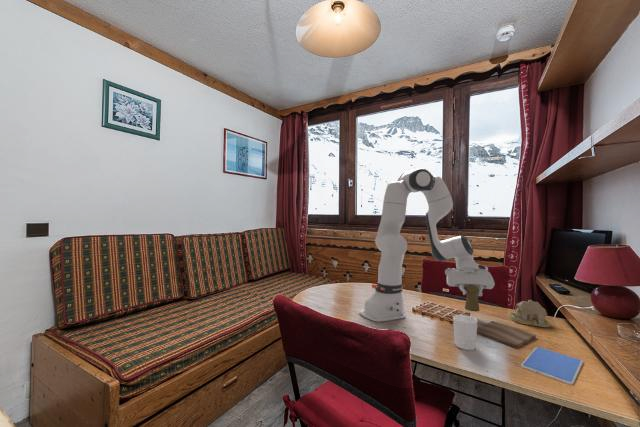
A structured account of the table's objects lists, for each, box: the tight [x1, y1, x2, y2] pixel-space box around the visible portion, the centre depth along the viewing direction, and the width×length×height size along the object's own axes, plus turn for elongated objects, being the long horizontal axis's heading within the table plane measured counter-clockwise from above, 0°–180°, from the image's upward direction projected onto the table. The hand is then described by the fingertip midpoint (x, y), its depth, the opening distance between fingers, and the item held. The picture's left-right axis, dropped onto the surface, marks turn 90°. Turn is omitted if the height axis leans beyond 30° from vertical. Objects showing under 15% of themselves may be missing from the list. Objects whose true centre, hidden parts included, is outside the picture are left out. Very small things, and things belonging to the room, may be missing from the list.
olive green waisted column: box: [464, 285, 480, 312], centre depth 129 cm, size 6×6×11 cm
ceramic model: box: [509, 299, 552, 328], centre depth 125 cm, size 14×11×10 cm
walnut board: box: [477, 320, 537, 349], centre depth 111 cm, size 16×16×1 cm
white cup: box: [452, 314, 479, 351], centre depth 102 cm, size 8×8×10 cm
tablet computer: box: [520, 346, 584, 386], centre depth 90 cm, size 19×13×1 cm, turn 130°
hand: (472, 294), depth 128 cm, fingers closed on olive green waisted column, 5 cm apart
